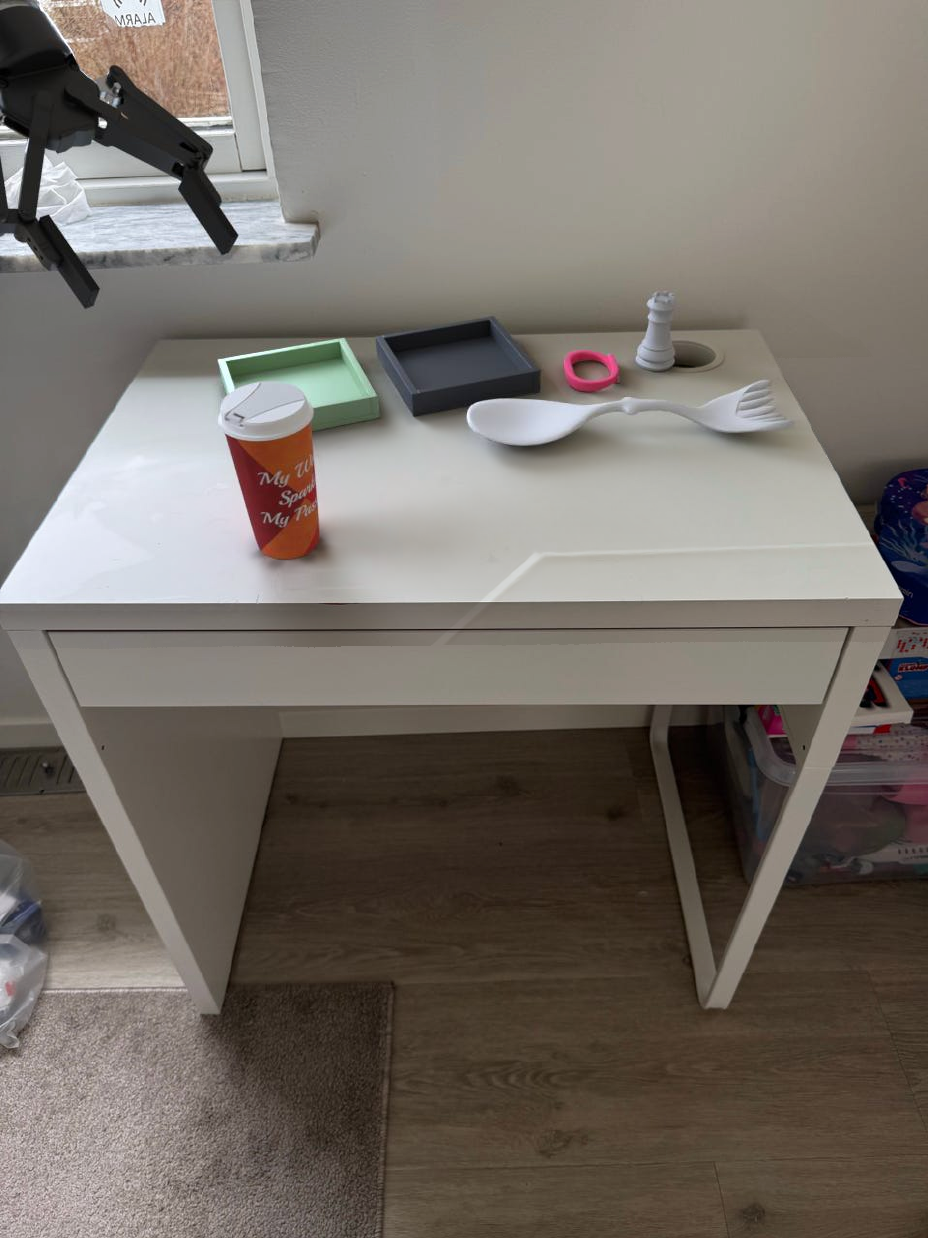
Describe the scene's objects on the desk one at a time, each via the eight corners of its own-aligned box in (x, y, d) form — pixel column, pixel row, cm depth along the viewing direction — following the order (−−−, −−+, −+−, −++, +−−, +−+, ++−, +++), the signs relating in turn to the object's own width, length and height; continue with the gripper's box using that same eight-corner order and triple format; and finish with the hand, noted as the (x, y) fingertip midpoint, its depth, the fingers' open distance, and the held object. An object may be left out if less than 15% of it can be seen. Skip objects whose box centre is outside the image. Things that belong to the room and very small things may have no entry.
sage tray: (242, 444, 97) (238, 422, 95) (222, 380, 107) (217, 359, 106) (379, 417, 100) (377, 395, 99) (346, 358, 111) (344, 337, 109)
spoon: (789, 449, 94) (796, 419, 92) (468, 460, 94) (467, 429, 92) (765, 404, 101) (771, 374, 98) (466, 413, 101) (465, 384, 98)
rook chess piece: (680, 359, 109) (690, 292, 103) (665, 376, 106) (674, 307, 100) (644, 351, 110) (652, 284, 105) (628, 366, 108) (635, 298, 102)
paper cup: (288, 578, 81) (261, 436, 71) (227, 546, 84) (194, 406, 75) (350, 533, 85) (332, 394, 76) (289, 504, 89) (265, 368, 80)
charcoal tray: (413, 416, 101) (411, 394, 99) (377, 356, 111) (375, 336, 109) (540, 391, 104) (540, 370, 102) (493, 336, 114) (493, 315, 112)
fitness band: (623, 392, 103) (624, 379, 102) (569, 394, 103) (570, 382, 102) (610, 357, 109) (611, 345, 108) (560, 360, 109) (560, 347, 108)
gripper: (128, 41, 84) (266, 248, 87) (-154, 103, 71) (19, 347, 73) (149, -25, 78) (296, 201, 81) (-156, 30, 65) (33, 299, 67)
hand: (165, 271), depth 77 cm, fingers open, 13 cm apart
